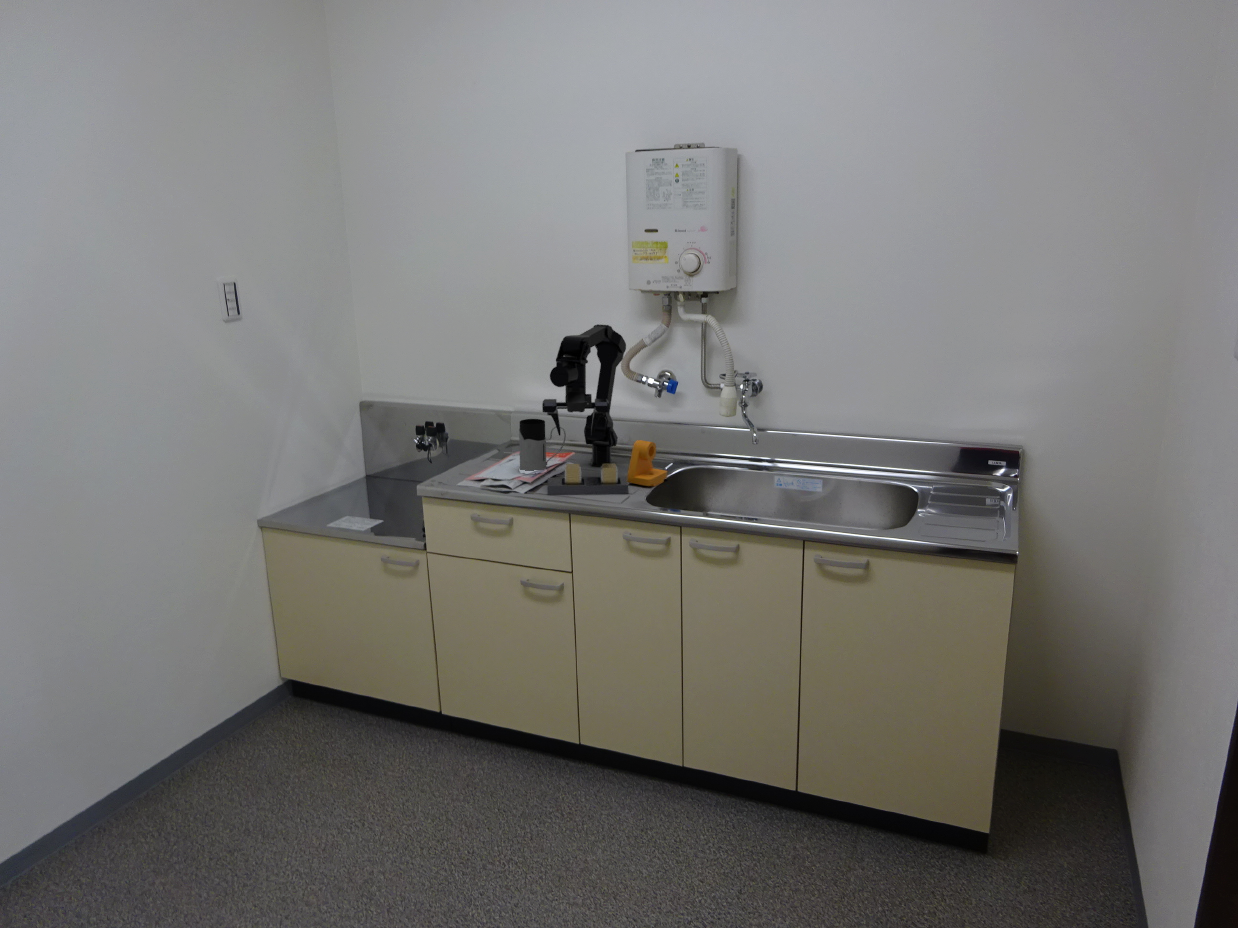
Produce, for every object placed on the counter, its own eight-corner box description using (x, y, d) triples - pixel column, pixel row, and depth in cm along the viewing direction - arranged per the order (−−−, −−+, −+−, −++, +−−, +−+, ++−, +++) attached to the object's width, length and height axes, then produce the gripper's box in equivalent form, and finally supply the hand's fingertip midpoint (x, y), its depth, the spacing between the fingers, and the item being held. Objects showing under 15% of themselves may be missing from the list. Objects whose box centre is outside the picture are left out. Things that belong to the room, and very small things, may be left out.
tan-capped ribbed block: (600, 487, 245) (600, 463, 243) (616, 487, 245) (616, 463, 243) (601, 492, 241) (601, 468, 239) (617, 492, 241) (617, 467, 239)
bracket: (649, 489, 244) (650, 447, 241) (627, 484, 248) (627, 444, 245) (668, 479, 253) (669, 439, 250) (646, 476, 257) (647, 436, 253)
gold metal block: (564, 488, 244) (564, 463, 242) (580, 487, 245) (580, 463, 243) (564, 492, 240) (564, 468, 238) (581, 492, 240) (581, 468, 238)
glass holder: (521, 466, 265) (520, 418, 261) (567, 467, 265) (567, 419, 261) (516, 474, 257) (514, 424, 253) (564, 475, 256) (563, 425, 252)
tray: (548, 486, 246) (547, 477, 245) (626, 485, 247) (626, 476, 246) (547, 494, 238) (547, 486, 237) (628, 493, 239) (628, 485, 239)
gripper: (541, 386, 237) (542, 442, 241) (610, 386, 238) (609, 441, 242) (542, 379, 248) (543, 433, 252) (608, 379, 249) (608, 432, 253)
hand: (575, 435), depth 249 cm, fingers open, 9 cm apart
